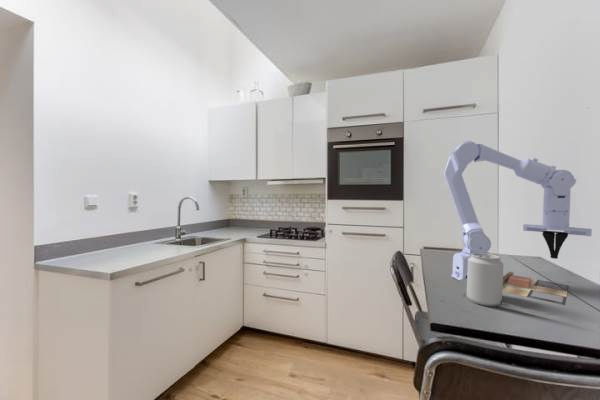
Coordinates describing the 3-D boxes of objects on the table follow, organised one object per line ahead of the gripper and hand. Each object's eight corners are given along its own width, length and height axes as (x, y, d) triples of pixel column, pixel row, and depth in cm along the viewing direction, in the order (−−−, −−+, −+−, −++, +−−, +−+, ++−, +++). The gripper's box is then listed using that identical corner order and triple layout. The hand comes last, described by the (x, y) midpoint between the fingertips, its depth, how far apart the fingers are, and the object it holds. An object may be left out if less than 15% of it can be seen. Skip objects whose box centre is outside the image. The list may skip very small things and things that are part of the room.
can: (495, 298, 73) (497, 253, 72) (506, 309, 65) (508, 259, 65) (463, 294, 75) (464, 250, 75) (470, 304, 68) (472, 256, 68)
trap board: (493, 294, 75) (493, 285, 75) (509, 279, 91) (509, 271, 91) (564, 311, 65) (564, 300, 65) (568, 290, 81) (568, 281, 81)
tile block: (508, 284, 80) (508, 277, 80) (511, 281, 83) (511, 274, 83) (528, 288, 77) (529, 281, 77) (530, 285, 80) (531, 278, 80)
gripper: (522, 210, 83) (520, 255, 83) (592, 213, 72) (590, 265, 73) (525, 209, 88) (524, 252, 88) (592, 212, 77) (590, 261, 78)
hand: (554, 257), depth 81 cm, fingers closed
